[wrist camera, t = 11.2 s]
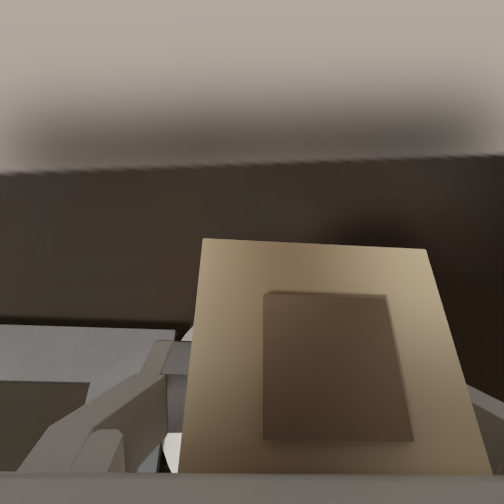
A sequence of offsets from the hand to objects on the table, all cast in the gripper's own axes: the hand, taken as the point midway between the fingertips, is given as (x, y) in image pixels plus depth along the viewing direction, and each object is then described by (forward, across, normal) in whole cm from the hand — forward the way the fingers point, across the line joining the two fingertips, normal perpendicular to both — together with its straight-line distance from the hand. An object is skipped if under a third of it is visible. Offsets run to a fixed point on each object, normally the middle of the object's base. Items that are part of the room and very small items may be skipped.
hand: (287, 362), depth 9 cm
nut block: (+3, 0, +4) cm, 5 cm away
